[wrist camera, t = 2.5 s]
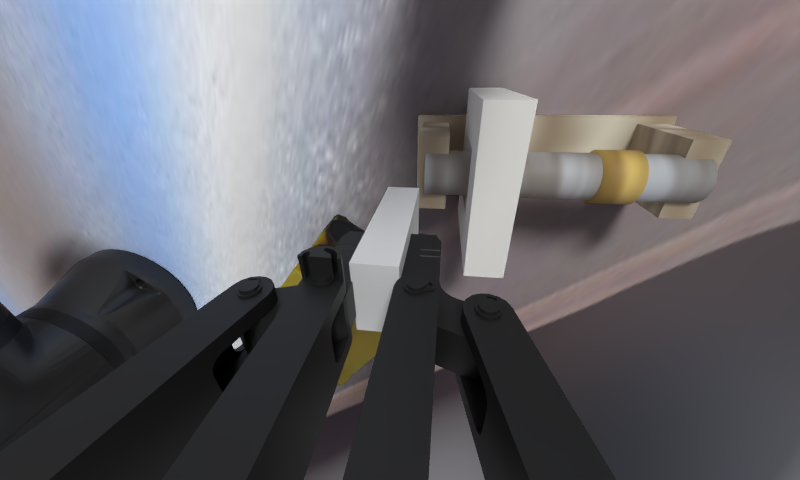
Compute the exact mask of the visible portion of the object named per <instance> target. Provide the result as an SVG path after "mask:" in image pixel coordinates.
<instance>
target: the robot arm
mask: <svg viewBox="0 0 800 480" xmlns="http://www.w3.org/2000/svg"><path fill="white" fill-rule="evenodd" d="M418 229H419V188H408V187H388V188H387V190H386V192H385V194H384V196H383V198H382V200H381V202H380V204H379V206H378V208H377V210H376V212H375V214H374V215H373V217H372V219H371V221H370V223H369V225H368V227H367V229H366V231H365V232H357V231H350V232H348V233H347V234H345V235H343V236H342V237H341V238H340V240H339V241H338V243H337V245H336V246H335V247H332V246H316V247H312V248H309V249H307V250H304V251H302V252H301V253H300V254H299V255H298V260H299V265H300V269H301V274H302V280H301V281H300V282H299V284H298V285H295V286H289V287H281V288H275V287H274V284H273V282H272V280H271V279H269V278H267V277H260V276H258V277H250V278H247V279H244V280H241V281H239V282H238V283H236V284H234V285H232V286H231V287H230V288H228V289H227V290H225V291H224V292H223V293H221V294H220V295H218V296H217V297H216V298H214V299H213V300H211V301H210V302H209V303H207V304H206V305H204V306H203V307H202V308H200V309H199V310H197V311H196V308H195V305H194V303H193V301H192V299H191V297H190V295H189V294H188V292H187V291H186V289H185V288H184V287H183V286H182V285H181V283H180V282H179V281H178V280H177V279H176V278H175V277H173V276H172V275H171V274H170V273H169V272H167V271H166V270H165V269H163V268H162V267H160V266H159V265H157V264H156V263H154V262H152V261H150V260H148V259H146V258H144V257H142V256H140V255H137V254H134V253H131V252H127V251H123V250H115V249H108V250H102V251H99V252H96V253H94V254H92V255H91V256H89V257H87V258H85V259H83V260H81V261H79V262H78V263H76V264H75V265H74V266H73V267H72V268H71V269H70V270H69V271H68V272H67V273H66V274H65V275H64V276H63V277H62V278H61V279H60V280H59V281H58V282H57V283H56V284H55V285H54V286H53V287H52V288H51V289H50V290H49V291H48V293H47V294H46V295H45V296H44V297H43V298H42V299H41V300H40V301H39V302H38V303H37V304H35V305H34V306H33V307H31V308H29V309H28V310H26V311H24V312H22V313H21V314H19V315H17V316H14V315H13V314H12V313H11V312H10V311H9V310H8V309H7V308H6V307H5V306H4V305H3V304H2V303H1V302H0V480H303V479H304V476H305V474H306V471H307V468H308V465H309V462H310V459H311V457H312V454H313V451H314V448H315V445H316V442H317V440H318V437H319V434H320V431H321V428H322V426H323V423H324V420H325V417H326V414H327V411H328V409H329V406H330V403H331V400H332V397H333V395H334V392H335V389H336V386H337V383H338V380H339V378H340V375H341V372H342V369H343V366H344V363H345V361H346V358H347V355H348V352H349V349H350V346H351V344H352V337H353V336H352V326H353V323H354V321H355V319H356V327H357V329H358V330H367V331H377V332H382V333H381V336H380V340H379V344H378V348H377V352H376V355H375V359H374V363H373V367H372V371H371V374H370V378H369V382H368V386H367V390H366V393H365V397H364V401H363V405H362V409H361V413H360V417H359V420H358V424H357V428H356V432H355V435H354V439H353V443H352V447H351V451H350V455H349V459H348V462H347V466H346V470H345V473H344V477H343V480H428V478H429V459H430V442H431V423H432V405H433V387H434V369H435V364H436V365H438V366H440V367H443V368H445V369H448V370H450V371H452V372H454V373H455V375H456V380H457V383H458V387H459V390H460V394H461V397H462V401H463V404H464V407H465V411H466V415H467V418H468V421H469V425H470V429H471V432H472V436H473V439H474V443H475V446H476V450H477V453H478V457H479V460H480V464H481V467H482V471H483V474H484V478H485V480H616V478H615V477H614V475H613V474H612V472H611V470H610V469H609V467H608V465H607V464H606V462H605V460H604V459H603V457H602V455H601V454H600V452H599V450H598V449H597V447H596V445H595V444H594V442H593V440H592V439H591V437H590V435H589V434H588V432H587V430H586V429H585V427H584V425H583V424H582V422H581V421H580V419H579V418H578V416H577V414H576V412H575V411H574V409H573V407H572V406H571V404H570V402H569V401H568V399H567V398H566V396H565V394H564V392H563V391H562V389H561V387H560V386H559V384H558V382H557V381H556V379H555V378H554V376H553V374H552V372H551V371H550V369H549V368H548V366H547V364H546V363H545V361H544V359H543V358H542V356H541V354H540V353H539V351H538V349H537V348H536V346H535V345H534V343H533V341H532V339H531V338H530V336H529V334H528V333H527V331H526V329H525V328H524V326H523V325H522V323H521V321H520V320H519V318H518V316H517V315H516V313H515V311H514V310H513V308H512V307H511V306H510V305H509V304H508V302H506V301H505V300H503V299H501V298H500V297H497V296H494V295H491V294H476V295H472V296H470V297H469V298H467V299H466V300H465V301H462V300H459V299H456V298H454V297H451V296H450V295H448V294H447V293H445V292H444V291H443V290H442V288H441V286H440V283H439V274H440V255H441V241H440V240H439V238H438V237H437V236H436V235H424V234H418ZM239 337H240V338H241V340H242V343H243V344H242V345H241V346H240V347H238V348H237V349H233V346H232V344H233V343H234V342H235V341H236V340H237V339H238V338H239Z"/></svg>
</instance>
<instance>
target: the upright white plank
mask: <svg viewBox="0 0 800 480" xmlns="http://www.w3.org/2000/svg"><path fill="white" fill-rule="evenodd" d="M537 103H538V100H537V99H534V98H531V97H528V96H525V95H522V94H519V93H516V92H513V91H510V90H507V89H504V88H469V93H468V104H467V115H466V126H465V137H464V148H463V151H472V154H471V164H470V173H469V183H468V193H467V196H466V195H459V203H458V218H459V230H460V241H461V253H462V264H463V276H478V277H493V278H503V276H504V270H505V265H506V260H507V255H508V250H509V245H510V240H511V235H512V230H513V225H514V220H515V215H516V209H517V204H518V199H519V194H520V189H521V184H522V179H523V174H524V169H525V164H526V159H527V153H528V148H529V143H530V138H531V133H532V128H533V123H534V118H535V113H536V108H537Z"/></svg>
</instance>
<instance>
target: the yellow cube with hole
mask: <svg viewBox="0 0 800 480" xmlns="http://www.w3.org/2000/svg"><path fill="white" fill-rule="evenodd" d="M350 231H357V232H365V231H363V230H362V229H360V228H359V227H357V226H355V225H354V224H352V223H351V222H350V221H349V220H348V219H347V218H346V217H344V216H341V215H336V216H334V218H333V220H331V222H330V223H329V224H328V225H327V226H326V228H325V229H324V230H323V232H322V233H321V235H320V236H319V237H318V239H317V240H316V242H315V243H314V244H313V246H312V247H316V246H332V247H335V246H336V245H337V243H338V241H339V240H340V238H341V237H342V236H343V235H345V234H347V233H348V232H350ZM312 247H311V248H312ZM301 280H302V274H301V269H300V265H299V263H298V265H297V266H296V267H295V268H294V270H293V271H292V272H291V274H290V275H289V277H288V278H287V279H286V281H285V282H284V284H283V285H282V286H281V287H289V286H295V285H298V284H299V282H300V281H301ZM381 333H382V332H377V331H367V330H358V329H357V327H356V319H355V321H354V323H353V326H352V336H353V337H352V344H351V346H350V349H349V352H348V355H347V358H346V361H345V363H344V366H343V369H342V372H341V375H340V378H339V380H338V383H337V384H338V385H342V384H345V383H346V382H347V381H348V380H349V379H350V377H351V376H352V375H353V374H354V373H355V372H357V371H358V370H360V369H361V368H362V367H363V366H364V365H365V364H366V363H367V362H369V361H370V360H371V359H372V358H374V357H375V355H376V352H377V348H378V344H379V340H380V336H381Z"/></svg>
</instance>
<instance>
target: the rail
mask: <svg viewBox="0 0 800 480" xmlns="http://www.w3.org/2000/svg"><path fill="white" fill-rule="evenodd" d="M676 119H677V116H653V115H535V118H534V123H533V128H532V133H531V138H530V143H529V148H528V153H527V159H526V164H525V169H524V174H523V179H522V184H521V189H520V194H519V197H523V198H551V199H580V200H583V201H584V202H586V203H606V204H631V203H633V202H636V203H638V204H639V205H641V206H642V207H643V208H645V209H646V210H648V211H649V212H651V213H652V214H653V215H655V216H656V217H658V218H677V219H692V217H693V215H694V213H695V211H696V209H697V207H698V206H699V204H700V202H701V201H702V200H704V199H705V198H706V197H707V196H708V195H709V194H710V193H711V192H712V190H713V189H714V187H715V185H716V182H717V178H718V167H719V165H720V163H721V162H722V160H723V158H724V156H725V154H726V152H727V150H728V148H729V146H730V144H731V142H732V140H730V139H726V138H722V137H718V136H713V135H709V134H705V133H701V132H697V131H693V130H689V129H685V128H681V127H677V126H674V124H675V121H676ZM465 126H466V115H418V161H417V187H418V188H419V208H433V209H445V203H446V195H466V196H467V193H468V183H469V173H470V164H471V154H472V151H463V148H464V137H465Z"/></svg>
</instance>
